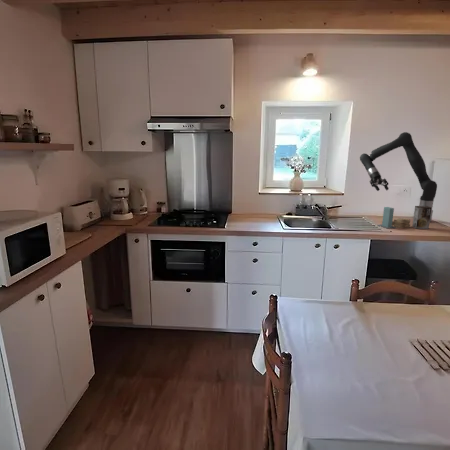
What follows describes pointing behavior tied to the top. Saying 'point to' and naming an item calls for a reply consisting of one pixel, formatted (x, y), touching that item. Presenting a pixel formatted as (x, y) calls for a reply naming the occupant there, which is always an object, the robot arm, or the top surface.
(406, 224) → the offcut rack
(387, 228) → the slate mat
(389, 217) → the pale teal pillar
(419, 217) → the coffee box
